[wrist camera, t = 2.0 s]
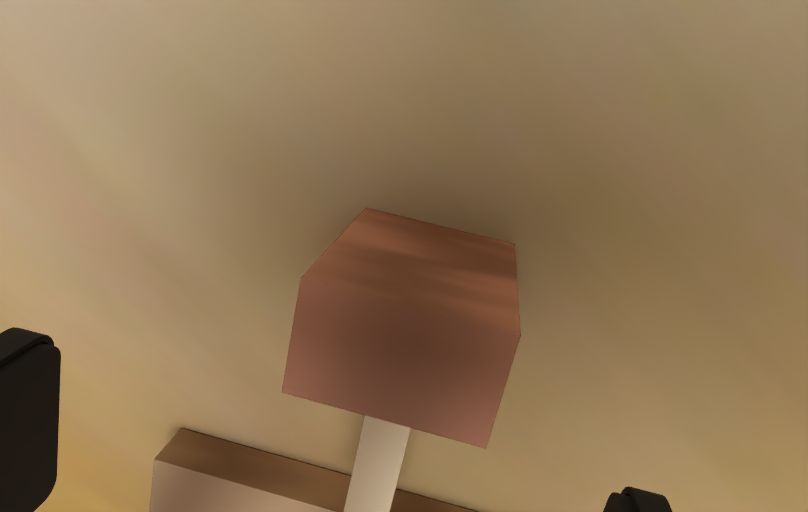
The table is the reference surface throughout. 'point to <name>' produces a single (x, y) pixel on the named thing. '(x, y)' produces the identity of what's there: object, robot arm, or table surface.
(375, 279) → the wooden mallet
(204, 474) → the plank
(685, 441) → the table surface
